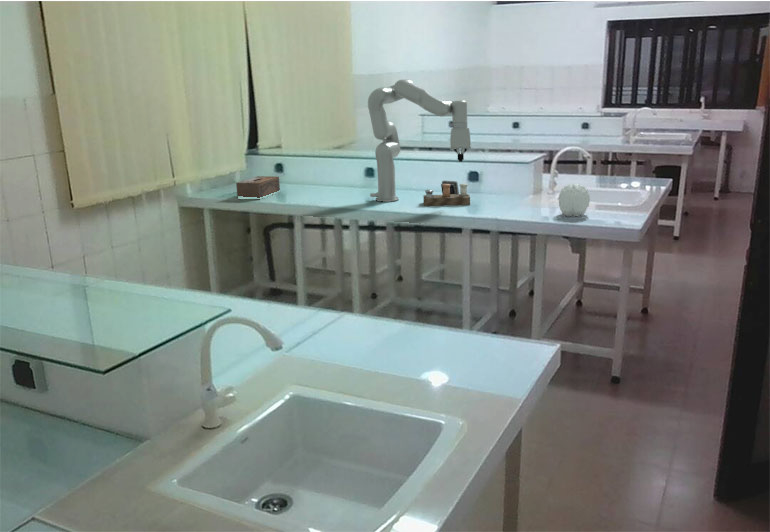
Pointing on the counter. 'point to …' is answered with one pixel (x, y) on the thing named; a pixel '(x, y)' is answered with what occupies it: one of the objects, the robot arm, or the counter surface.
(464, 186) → the plug ivory
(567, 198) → the brain
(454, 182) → the electrical switch
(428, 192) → the plug grey
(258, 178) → the tissue box cover
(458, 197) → the socket board
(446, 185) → the plug terracotta
